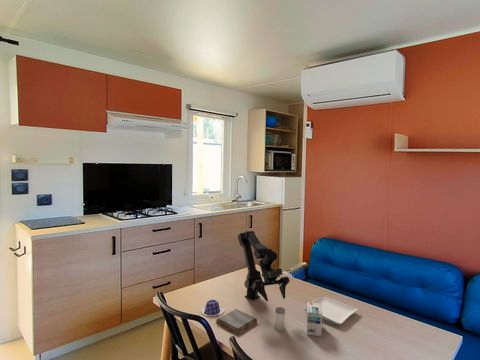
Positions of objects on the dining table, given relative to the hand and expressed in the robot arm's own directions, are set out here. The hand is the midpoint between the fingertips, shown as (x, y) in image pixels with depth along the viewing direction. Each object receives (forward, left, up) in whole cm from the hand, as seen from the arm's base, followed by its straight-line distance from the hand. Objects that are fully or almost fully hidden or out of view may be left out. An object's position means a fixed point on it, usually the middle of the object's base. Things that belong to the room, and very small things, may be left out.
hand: (276, 300), depth 149 cm
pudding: (+13, -31, -12) cm, 35 cm away
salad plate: (-28, +15, -12) cm, 34 cm away
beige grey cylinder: (+2, +4, -12) cm, 12 cm away
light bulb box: (-8, +16, -12) cm, 22 cm away
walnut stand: (+13, -14, -11) cm, 22 cm away
